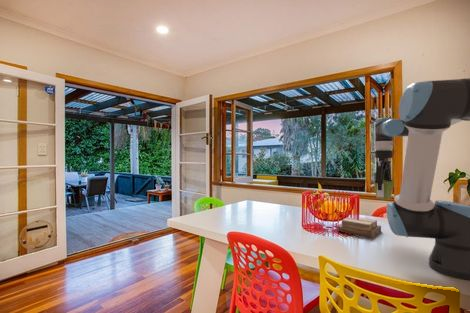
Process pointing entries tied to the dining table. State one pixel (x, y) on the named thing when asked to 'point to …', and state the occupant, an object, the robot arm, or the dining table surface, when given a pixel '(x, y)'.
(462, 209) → the robot arm
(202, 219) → the dining table surface
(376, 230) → the plinth
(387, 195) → the plant pot
